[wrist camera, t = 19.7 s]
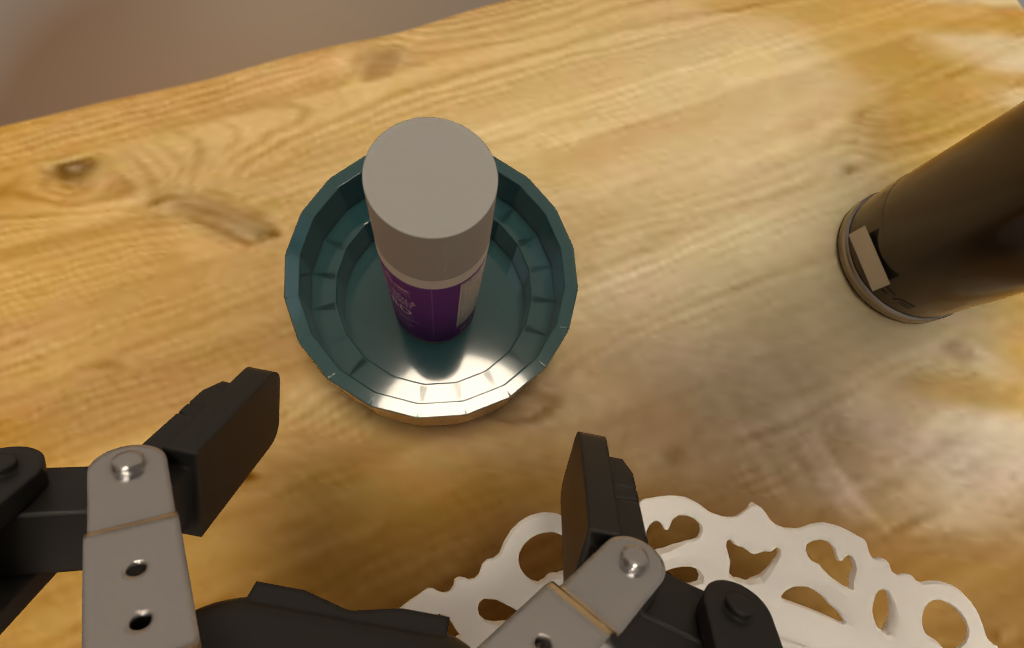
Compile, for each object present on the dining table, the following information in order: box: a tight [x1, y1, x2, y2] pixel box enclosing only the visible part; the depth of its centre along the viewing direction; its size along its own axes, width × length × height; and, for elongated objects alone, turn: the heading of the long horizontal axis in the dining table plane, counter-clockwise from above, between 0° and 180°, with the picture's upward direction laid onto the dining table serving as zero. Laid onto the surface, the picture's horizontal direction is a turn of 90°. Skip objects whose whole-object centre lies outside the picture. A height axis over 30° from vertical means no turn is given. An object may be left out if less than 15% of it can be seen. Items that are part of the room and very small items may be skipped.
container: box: [362, 117, 498, 343], centre depth 25 cm, size 5×5×15 cm
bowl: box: [284, 156, 578, 426], centre depth 31 cm, size 14×14×6 cm
